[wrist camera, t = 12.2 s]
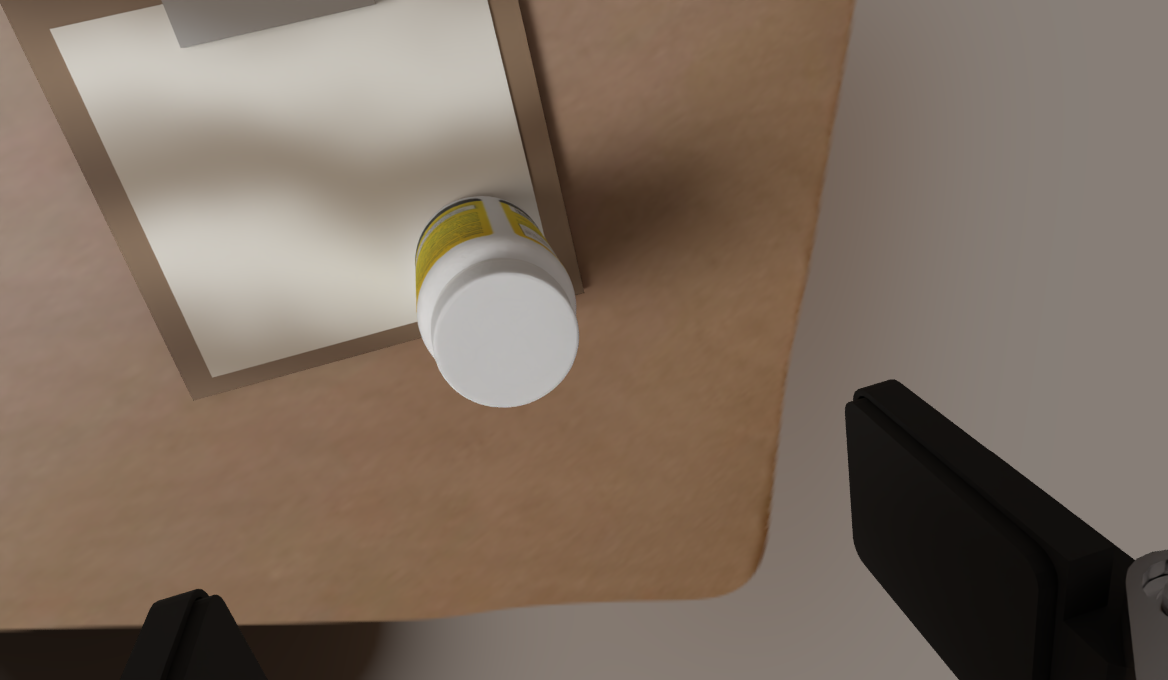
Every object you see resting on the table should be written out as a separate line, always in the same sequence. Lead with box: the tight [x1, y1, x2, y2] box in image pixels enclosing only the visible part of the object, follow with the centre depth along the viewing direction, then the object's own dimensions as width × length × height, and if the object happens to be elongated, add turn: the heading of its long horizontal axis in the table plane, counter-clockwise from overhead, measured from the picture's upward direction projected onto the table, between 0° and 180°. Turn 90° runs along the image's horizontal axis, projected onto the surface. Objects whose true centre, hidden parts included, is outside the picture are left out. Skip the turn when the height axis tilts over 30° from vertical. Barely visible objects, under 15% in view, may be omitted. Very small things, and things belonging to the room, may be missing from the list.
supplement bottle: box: [415, 196, 579, 407], centre depth 24 cm, size 5×5×8 cm
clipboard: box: [0, 0, 584, 401], centre depth 26 cm, size 14×15×1 cm
